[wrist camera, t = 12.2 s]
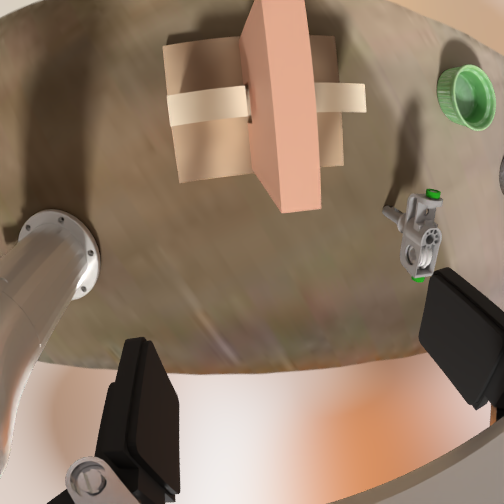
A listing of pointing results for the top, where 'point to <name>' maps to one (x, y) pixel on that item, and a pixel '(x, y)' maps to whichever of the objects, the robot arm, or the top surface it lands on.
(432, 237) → the mechanical component
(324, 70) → the slotted stand
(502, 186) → the pillar candle
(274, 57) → the salmon pink flat slab
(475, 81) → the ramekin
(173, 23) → the top surface
